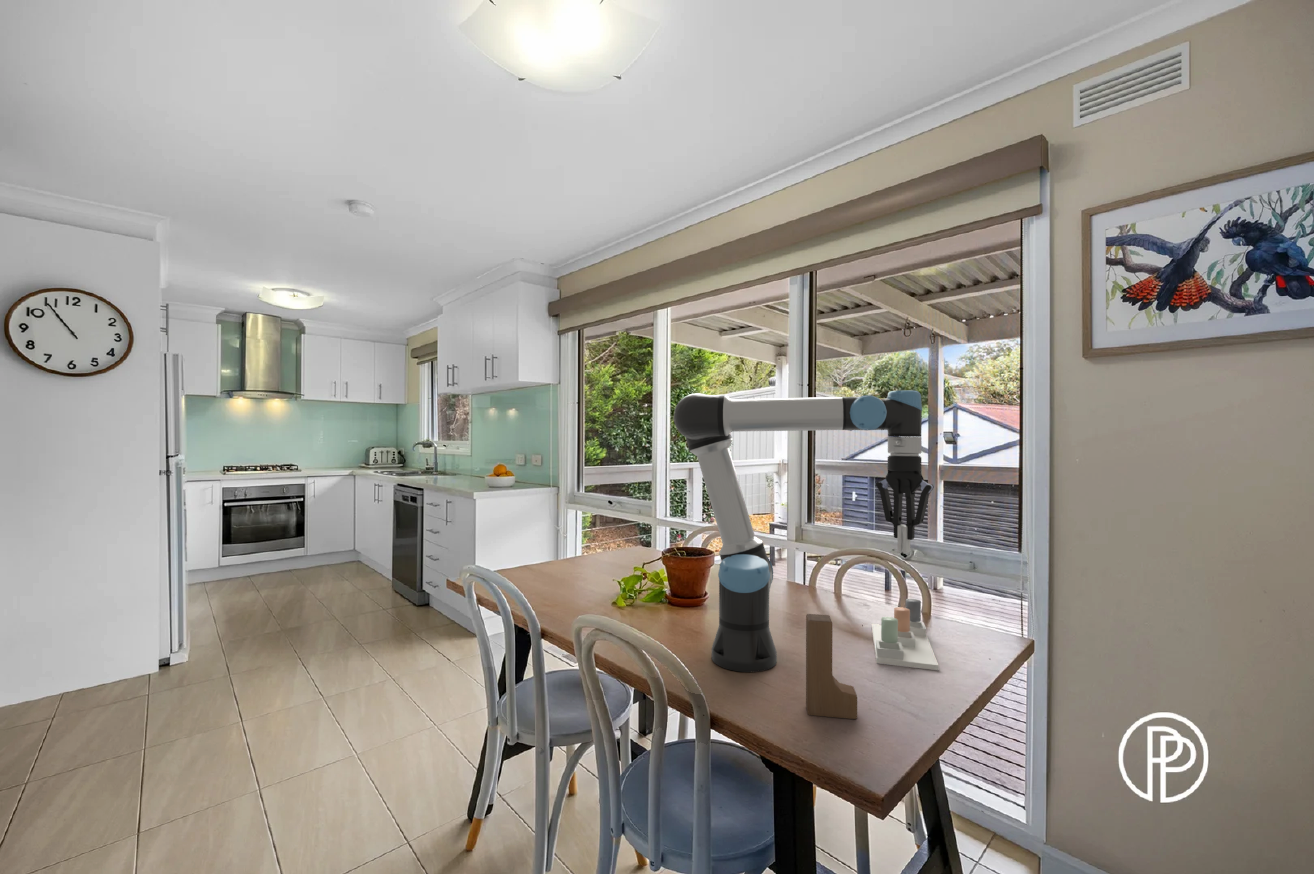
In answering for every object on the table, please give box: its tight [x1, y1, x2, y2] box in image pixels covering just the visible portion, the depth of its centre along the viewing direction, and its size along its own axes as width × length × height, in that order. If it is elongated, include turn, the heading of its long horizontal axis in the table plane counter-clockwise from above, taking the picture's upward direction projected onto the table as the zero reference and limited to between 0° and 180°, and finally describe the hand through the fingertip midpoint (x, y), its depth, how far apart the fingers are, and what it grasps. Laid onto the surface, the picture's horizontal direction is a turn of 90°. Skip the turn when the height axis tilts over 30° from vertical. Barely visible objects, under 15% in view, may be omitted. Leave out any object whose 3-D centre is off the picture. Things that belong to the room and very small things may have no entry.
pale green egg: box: [880, 616, 898, 643], centre depth 134 cm, size 4×4×5 cm
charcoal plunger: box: [905, 598, 922, 622], centre depth 149 cm, size 4×4×5 cm
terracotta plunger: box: [893, 606, 910, 632], centre depth 142 cm, size 4×4×5 cm
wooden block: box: [805, 613, 858, 720], centre depth 109 cm, size 9×4×18 cm, turn 80°
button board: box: [871, 621, 940, 671], centre depth 142 cm, size 13×25×3 cm, turn 162°
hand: (903, 552), depth 138 cm, fingers closed
